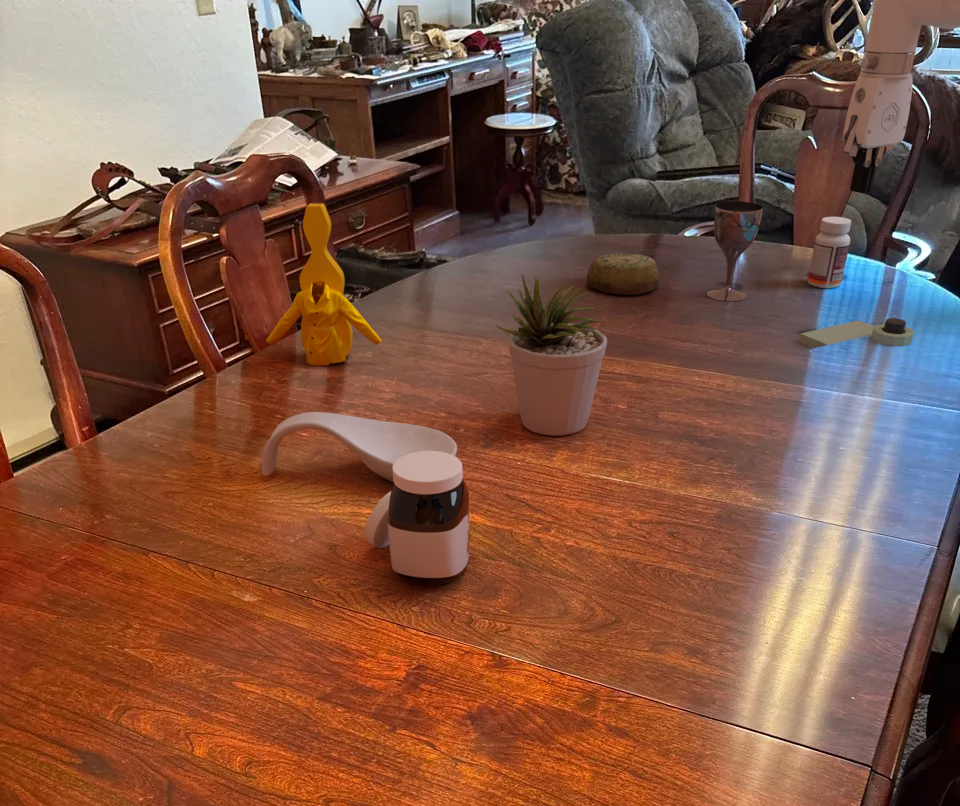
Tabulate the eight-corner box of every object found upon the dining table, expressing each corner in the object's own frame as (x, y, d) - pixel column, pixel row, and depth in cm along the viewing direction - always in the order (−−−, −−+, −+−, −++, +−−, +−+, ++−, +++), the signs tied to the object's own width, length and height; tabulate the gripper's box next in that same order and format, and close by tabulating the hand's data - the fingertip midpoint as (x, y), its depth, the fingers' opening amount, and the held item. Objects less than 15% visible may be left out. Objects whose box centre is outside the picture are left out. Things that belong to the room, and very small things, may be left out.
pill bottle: (839, 280, 180) (852, 216, 173) (842, 290, 175) (856, 224, 168) (805, 278, 181) (817, 215, 174) (808, 288, 176) (820, 223, 169)
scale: (856, 328, 158) (861, 310, 156) (917, 351, 149) (922, 332, 148) (798, 342, 153) (801, 323, 151) (857, 366, 144) (861, 346, 143)
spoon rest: (459, 452, 122) (458, 398, 117) (455, 495, 112) (454, 439, 108) (275, 451, 122) (267, 398, 118) (255, 494, 113) (246, 438, 108)
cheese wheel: (619, 271, 186) (621, 244, 183) (674, 286, 178) (677, 258, 175) (571, 285, 179) (573, 258, 176) (626, 301, 171) (629, 273, 168)
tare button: (892, 328, 150) (895, 316, 149) (907, 333, 148) (910, 322, 147) (878, 331, 149) (881, 320, 148) (893, 336, 147) (896, 325, 146)
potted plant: (522, 398, 136) (525, 251, 124) (614, 414, 131) (626, 263, 119) (483, 431, 126) (482, 276, 115) (581, 450, 122) (590, 290, 110)
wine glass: (704, 287, 177) (715, 200, 168) (748, 289, 176) (762, 202, 167) (703, 300, 171) (715, 210, 162) (749, 302, 170) (763, 212, 161)
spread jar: (458, 597, 95) (456, 492, 88) (349, 587, 96) (338, 483, 90) (480, 537, 104) (478, 438, 97) (379, 528, 106) (371, 431, 99)
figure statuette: (266, 367, 146) (244, 213, 133) (277, 349, 152) (257, 201, 139) (381, 368, 145) (370, 213, 132) (387, 350, 152) (377, 201, 139)
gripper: (872, 70, 144) (846, 201, 155) (938, 64, 150) (908, 190, 161) (834, 65, 149) (811, 192, 160) (900, 60, 155) (873, 182, 166)
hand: (860, 191), depth 161 cm, fingers closed
